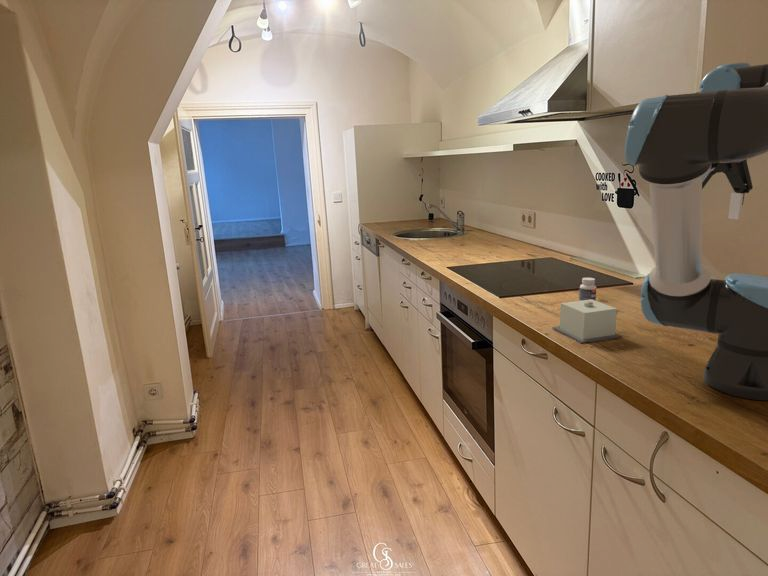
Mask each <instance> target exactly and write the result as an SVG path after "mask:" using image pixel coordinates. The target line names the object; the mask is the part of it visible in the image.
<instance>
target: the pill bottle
mask: <svg viewBox="0 0 768 576" xmlns="http://www.w3.org/2000/svg"><path fill="white" fill-rule="evenodd" d="M581 283H582V284H580V286H579V296H578V301H582V300H590V299H592V300H595V301H597V300H596V298H597V285H595V284H596V279H595V278H594V277H582V279H581Z"/></svg>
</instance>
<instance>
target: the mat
mask: <svg viewBox="0 0 768 576" xmlns="http://www.w3.org/2000/svg"><path fill="white" fill-rule="evenodd" d="M552 330H553V331H555V332H557V333H559V334H562V335H563V336H566V338H568V339H571V338H572V339H571V340H573V339H574V340H573V341H575V340H576V341H575V342H577V341H578V342H577V343H579V342H580V343H579V344H581V343H583V344H587V343H586V342H589V343H594V342H601V341H607V340H614V339H620V338H622V337H623V335H622V334H619V333H616V332H615V335H610V336H603V337H597V338H590V339H581V338H579V337H577V336H575V335H573V334H570V333H568V332H566V331H564V330H562V329H560V325H559V326H552Z"/></svg>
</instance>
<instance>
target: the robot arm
mask: <svg viewBox="0 0 768 576" xmlns="http://www.w3.org/2000/svg"><path fill="white" fill-rule="evenodd" d="M698 89H699V92H694V93H684V94H683V93H682V94H672V95H671V94H670V95H669V94H664V95H663V96H655V97H650V98H645V99H643V100H641V101H640V102H639V103H638V104H637V105H636V107H635V108H634V110H633V112H632V115H631V117H630V120H629V123H628V127H627V132H626V137H625V143H624V144H625V145H624V159H625V161H626V163H627V165H630V166H632V167H635V166H637V167H638V173H639V176H640V179H642V180H643V181H644V182H645V183H648V184H649V197H650V208H651V209H650V210H651V223H652V224H651V225H652V234H653V236H652V237H653V248H654V257H655V258H654V259H655V260H654V262H655V266H654V267H653V268H652V269H651V271H650V273H647V275H646V276H645V277H644V278H643V282H642V283H641V289H640V295H641V297H640V305H641V307H640V308H641V311H642V314H643V316H644V317H645V319H646V320H647V321H649V322H650V323H652V324H656V325H657V324H658V325H660V326H663V327H671V328H678V329H685V330H691V331H697V332H701V333H702V332H703V333H709V334H715V335H718V336H717V343H716V344H717V345H716V347H715V348H714V351H713V352H712V354H711V356H710V358H709V360H708V361H707V364H706V365H705V366H704V370H703V376H702V377H703V378H702V379H703V381H704V382H705V384H707V385H708V386H710V387H711V388H713V389H715V390H717V391H719V392H722V393H724V394H727V395H731V396H734V397H737V398H743V399H748V400H754V401H755V400H756V401H768V277H764V276H760V275H756V274H755V275H754V274H748V273H738V272H737V273H730V274H728V275H726V276H725V278H724V279H718V278H717V279H716V278H712V274H711V271H710V269H709V268H708V267H707V265H705V264H703V262H704V261H703V189H704V188H705V186H706V185H707V184H708V182H709V181H710V179H711V178H712V177H713V176H714V175H716V174H717V173H723V174H725V176H726V178H727V180H728V182H729V184H730V185H731V188H732V189H733V191H734V192H731V195H730V200H729V210H728V217H727V218H728V220H729V219H731V220H741V214H742V208H743V205H744V199H745V194H749V193H750V191H752V190H753V182H752V179H751V178H752V177H751V175H750V171H749V166H748V162H747V161H748V160H749V159H752V158H756V157H759V156H761V155H764V154H766V153H768V63H765V64H757V65H750V64H749V63H748V62H733V63H727V64H721V65H718V66H717V67H715V68H714V69H712V70H711V71H709V72H707V73H706V75H705V76H704V77H703V78H702V80H701V82H700V84H699V88H698Z"/></svg>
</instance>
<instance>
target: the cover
mask: <svg viewBox="0 0 768 576" xmlns="http://www.w3.org/2000/svg"><path fill="white" fill-rule="evenodd" d="M559 311H560V312H559V326H560V329H562V330H564V331H566V332H568V333H570V334H573V335H575V336H577V337H579V338H581V339H590V338H597V337H603V336H610V335H615V333H616V330H617V329H616V327H617V314H618V308H617V307H614V306H611V305H608V304H605V303H603V302H600V301H597V300H596V301H595V300H592V299H590V300H582V301H579V300H576V301H575V300H574V301H570V302H569V301H568V302H561V303H560V310H559Z"/></svg>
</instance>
